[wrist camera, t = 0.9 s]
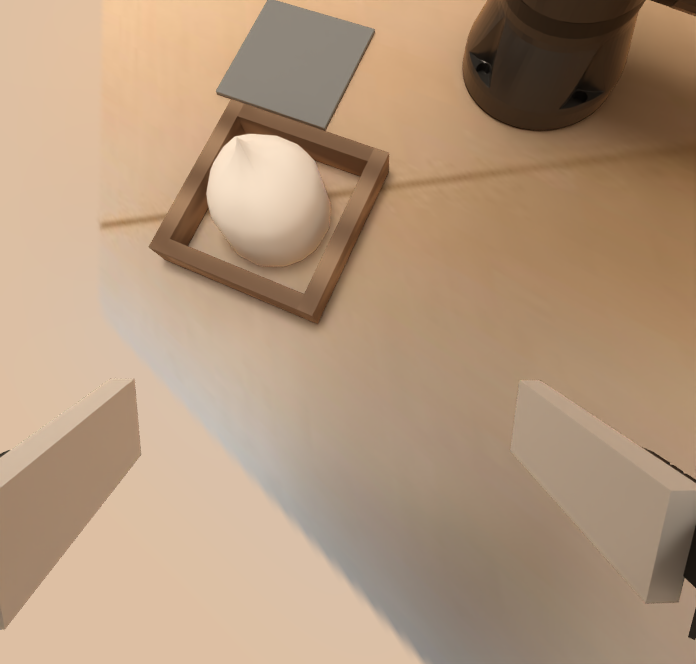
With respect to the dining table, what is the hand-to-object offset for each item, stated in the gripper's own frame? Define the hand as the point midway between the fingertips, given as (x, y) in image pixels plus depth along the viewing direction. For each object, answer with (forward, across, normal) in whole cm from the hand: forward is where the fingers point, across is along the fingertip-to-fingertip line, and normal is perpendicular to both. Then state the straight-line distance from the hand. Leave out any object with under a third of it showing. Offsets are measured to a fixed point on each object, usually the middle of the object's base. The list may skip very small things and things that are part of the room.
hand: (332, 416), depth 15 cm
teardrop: (+31, -4, +7) cm, 32 cm away
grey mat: (+39, -3, +24) cm, 45 cm away
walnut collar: (+31, -4, +8) cm, 32 cm away
